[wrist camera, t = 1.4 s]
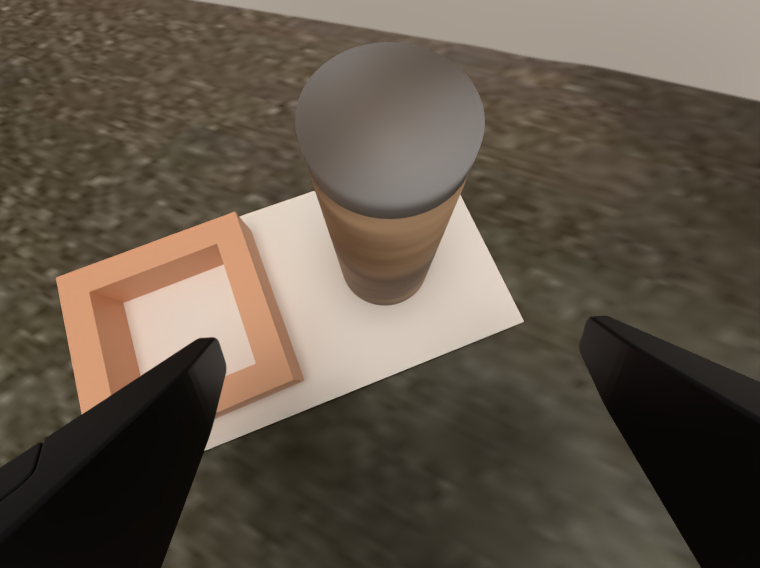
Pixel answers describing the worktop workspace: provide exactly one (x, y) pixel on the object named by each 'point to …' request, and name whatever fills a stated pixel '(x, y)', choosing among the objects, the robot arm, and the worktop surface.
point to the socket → (155, 271)
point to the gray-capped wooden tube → (388, 159)
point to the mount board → (326, 313)
